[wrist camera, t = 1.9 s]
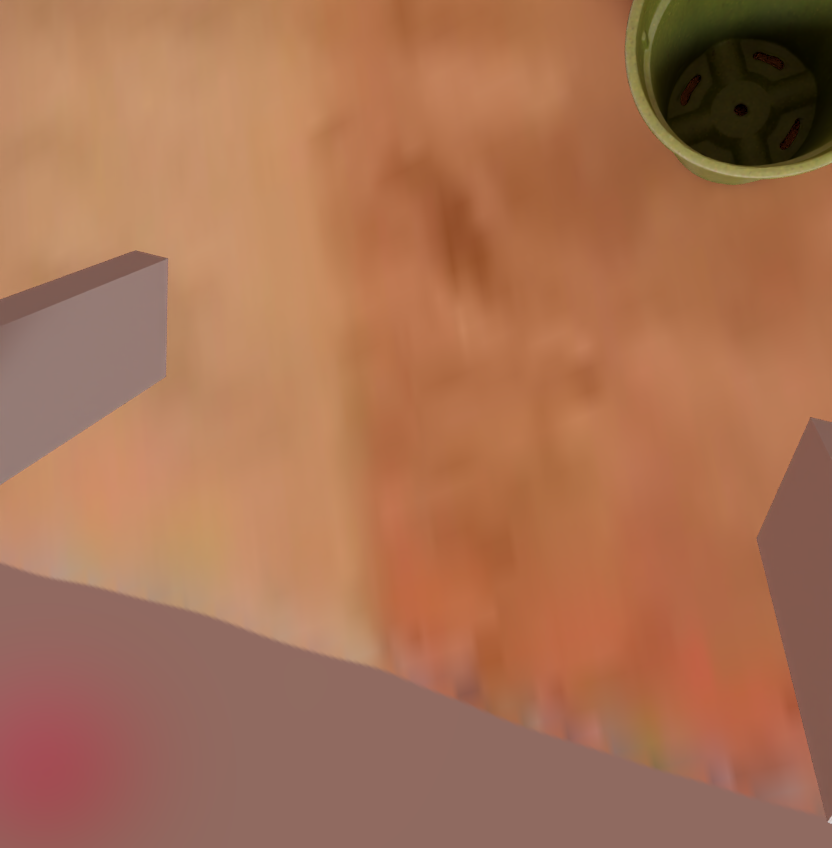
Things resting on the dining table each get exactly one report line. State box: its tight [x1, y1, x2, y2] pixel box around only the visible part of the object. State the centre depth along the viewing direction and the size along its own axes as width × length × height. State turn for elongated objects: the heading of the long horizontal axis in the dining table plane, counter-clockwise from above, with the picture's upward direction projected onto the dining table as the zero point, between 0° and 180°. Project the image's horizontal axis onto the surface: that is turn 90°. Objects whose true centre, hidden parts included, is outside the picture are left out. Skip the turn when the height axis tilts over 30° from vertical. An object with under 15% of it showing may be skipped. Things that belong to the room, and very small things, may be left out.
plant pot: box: [625, 0, 832, 185], centre depth 29 cm, size 9×9×9 cm
